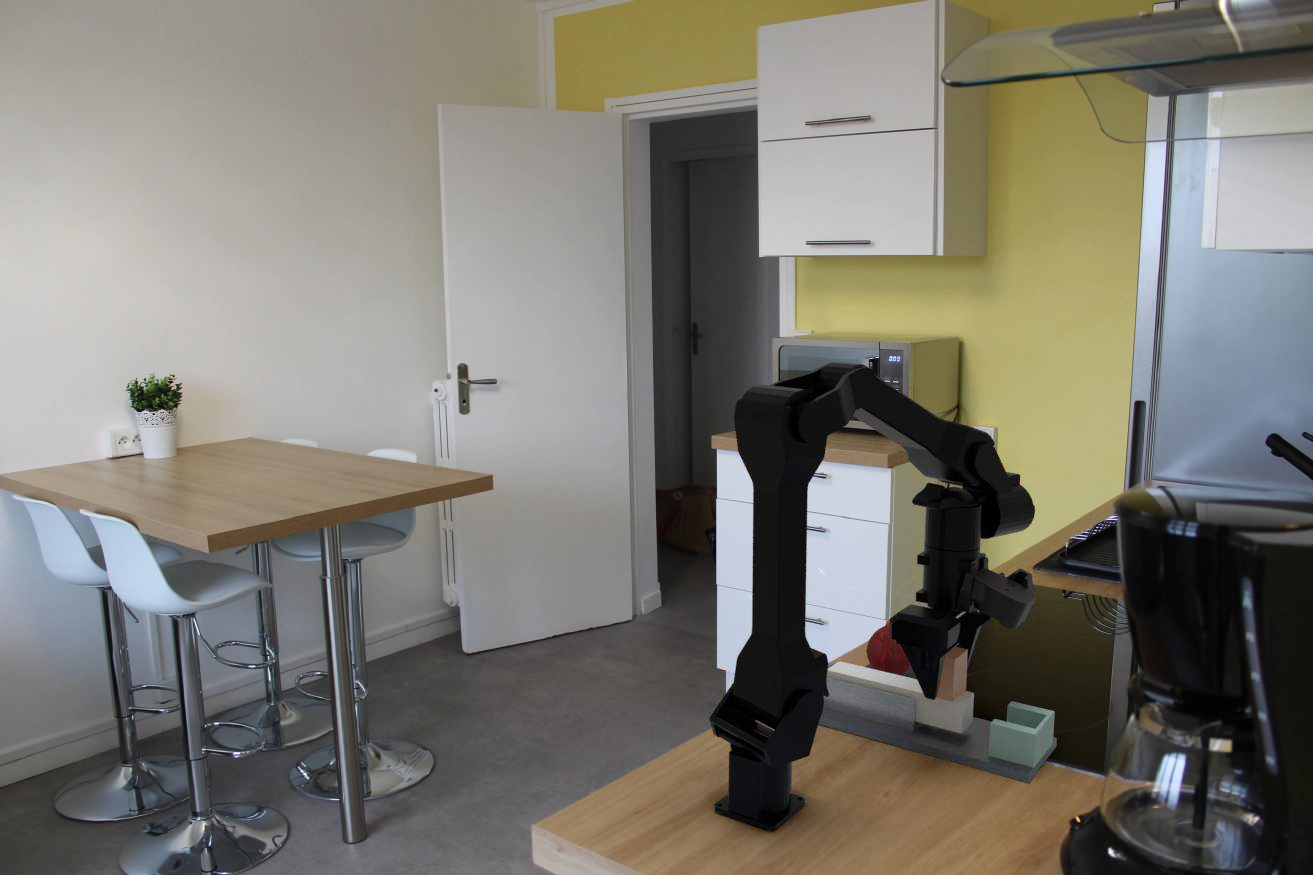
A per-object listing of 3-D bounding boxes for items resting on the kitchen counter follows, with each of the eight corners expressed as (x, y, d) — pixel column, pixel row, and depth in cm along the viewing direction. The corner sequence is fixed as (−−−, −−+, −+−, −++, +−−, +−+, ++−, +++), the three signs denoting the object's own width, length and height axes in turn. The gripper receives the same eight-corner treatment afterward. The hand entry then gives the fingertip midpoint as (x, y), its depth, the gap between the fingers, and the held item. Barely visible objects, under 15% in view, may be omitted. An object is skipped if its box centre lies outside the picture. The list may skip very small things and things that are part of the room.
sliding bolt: (960, 734, 107) (964, 662, 106) (824, 698, 116) (825, 631, 115) (973, 721, 110) (976, 651, 109) (839, 687, 119) (841, 622, 118)
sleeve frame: (1028, 782, 100) (1030, 739, 99) (796, 717, 115) (796, 680, 115) (1056, 746, 108) (1058, 706, 107) (835, 690, 123) (836, 655, 123)
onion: (918, 689, 124) (920, 626, 122) (870, 689, 124) (872, 626, 123) (907, 671, 129) (909, 611, 128) (862, 671, 130) (864, 611, 128)
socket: (1033, 767, 101) (1035, 734, 101) (988, 755, 104) (990, 723, 103) (1052, 742, 107) (1054, 711, 106) (1009, 731, 109) (1011, 701, 109)
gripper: (1000, 577, 95) (992, 734, 97) (1055, 538, 110) (1047, 675, 112) (889, 559, 102) (884, 706, 104) (954, 524, 116) (949, 654, 119)
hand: (946, 685), depth 109 cm, fingers open, 9 cm apart
